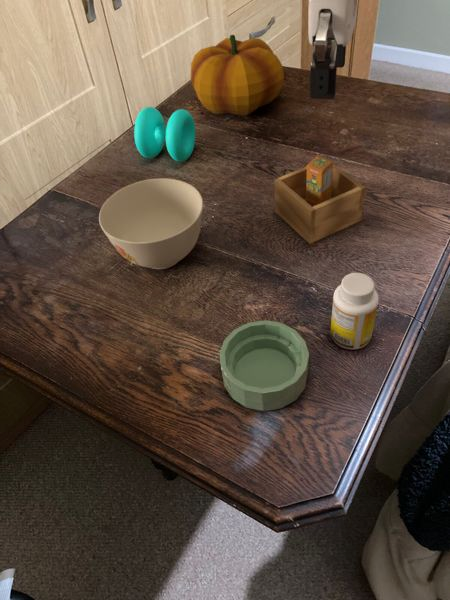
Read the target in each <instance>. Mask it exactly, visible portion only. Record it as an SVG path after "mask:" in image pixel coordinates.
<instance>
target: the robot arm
mask: <svg viewBox="0 0 450 600" xmlns="http://www.w3.org/2000/svg"><path fill="white" fill-rule="evenodd" d="M357 7H358V0H308V14H307V15H308V16H307V17H308V20H307V21H308V23H307V28H308V30H307V31H308V34H307V35H308V43H309V44H310V45H311V46H312V55H311V63H310V71H309V78H310V79H309V97H310V99H315V100H333V99H334V98H335V96H336V89H337V71H338V69H339V68H340V69H341V68H344V67H345V65H346V55H347V46H348V45H349V43H350V42H351V39H352V37H353V33H354V30H355V26H356V23H357V22H356V21H357V9H358V8H357Z"/></svg>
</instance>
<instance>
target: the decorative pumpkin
mask: <svg viewBox="0 0 450 600" xmlns="http://www.w3.org/2000/svg"><path fill="white" fill-rule="evenodd" d="M284 80H285V74H284V68H283V65H282V61H280V59H279V57H278V56H277V55H276V54H275V53H274V52H273V49H272V48H271V46H269V44H267V43H266V42H265V41H264V40H262V39H261V38H259V37H258V38H250V39H246V40H243V41H241V40H238V39H236V36H235V35H234V34H230V35H229V37H225V38H224V39H223V40H220V41H219V42H218V43H217V44H216V45H211V46H207V47H205V48H200V49H199V51H198V52H196V53H195V54H194V56H193V58H192V60H191V63H190V81H191V84H192V88H193V90H194V91H195V93H196V97H197V99H198V100H199V101H200V103H201V104H202V105H203V107H204V108H205V109H206V110H207V111H209V112H211V113H212V114H234V115H237V116H248V115H250V114H251V113H254V112H255V111H256V110H258V109H259V108H261V107H263V106H266V105H268V104H270V103H271V102H272V101H274V100H275V99H276V98H277V97H278V96H279V94H281V93H280V92H281V91H282V89H283V85H284Z"/></svg>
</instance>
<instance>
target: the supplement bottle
mask: <svg viewBox="0 0 450 600" xmlns="http://www.w3.org/2000/svg"><path fill="white" fill-rule="evenodd" d="M332 296H333V298H332V308H331V309H332V310H331V319H330V332H329V333H330V337H331V339H332V340H333V342H334V343H335V344H336V345H337V346H339V347H340V348H342V349H346V350H359V349H362V348H364V347H365V346H367V345H368V344H369V343H370V341H371V339H372V336H373V332H374V327H375V321H376V316H377V311H378V305H379V293H378V292H377V290H376V289H375V282H374V280H373V279H372V277H370V276H369V275H368V274H365V273H362V272H351V273H348V274H346V275H345V276H344V277H343V278H342V280H341V283H340V284H339V285H338V286H337V287H336V288H335V290H334V293H333V295H332Z"/></svg>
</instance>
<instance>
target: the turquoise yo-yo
mask: <svg viewBox="0 0 450 600" xmlns="http://www.w3.org/2000/svg"><path fill="white" fill-rule="evenodd" d="M133 130H134V132H133V137H134V143H135V147H136V149H137V151H138V153H139V154H140V155H141V156H142V157H144V158H146V159H153V158H156V157H157V156H159V154H160V153H161V152H162V150H163V148H164V145H165V146H166V149H167V152H168V154H169V156H170V157H171V158H172V159H173V160H174V161H176V162H181V163H182V162H185V161H187V160H188V159H189V158H190V157H191V155H192V153H193V151H194V147H195V144H196V143H195V142H196V124H195V120H194V117H193V116H192V114H191V113H190V112H189V110H186V109H184V108H183V109H177V110H175V111H174V112H172V114H171V115H170V117H169V118H168V121H167V123H165V119H164V117H163V115H162V113H161V112H160V111H159V110H158V109H157V108H156V107H153V106H147V107H144V108H143V109H141V110H140V112H139V113H138V114H137V116H136V119H135V123H134V129H133Z"/></svg>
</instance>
